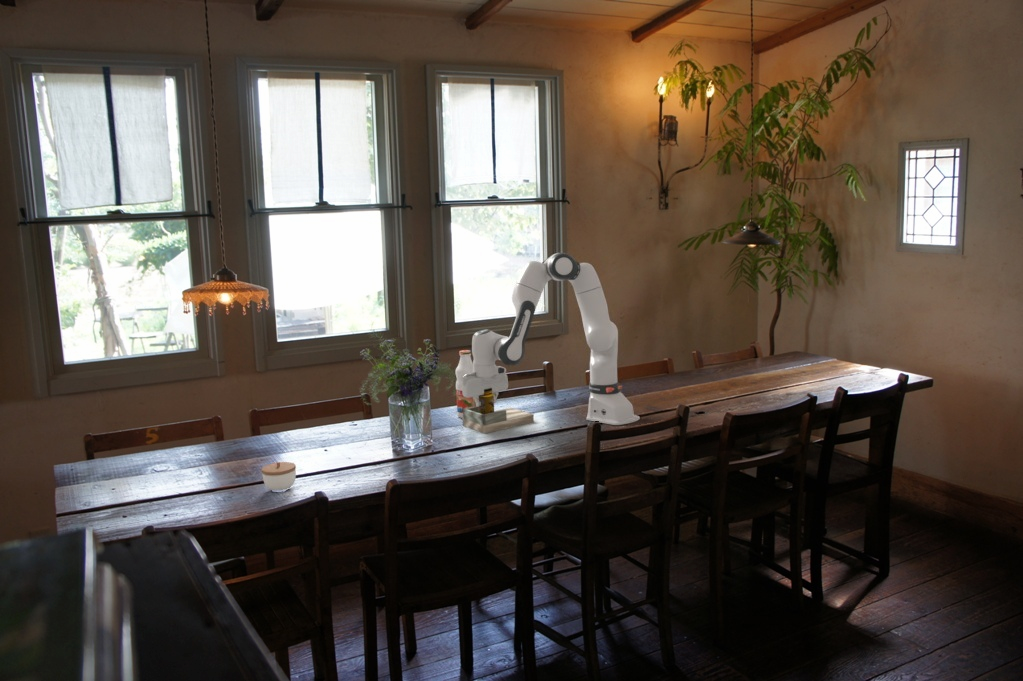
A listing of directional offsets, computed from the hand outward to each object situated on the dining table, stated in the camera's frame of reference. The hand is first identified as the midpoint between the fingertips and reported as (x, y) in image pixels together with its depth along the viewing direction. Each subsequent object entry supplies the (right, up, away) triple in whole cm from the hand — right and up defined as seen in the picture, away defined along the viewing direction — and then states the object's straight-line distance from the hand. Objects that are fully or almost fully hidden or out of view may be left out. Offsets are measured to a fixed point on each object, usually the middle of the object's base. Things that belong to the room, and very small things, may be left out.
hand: (486, 404), depth 341 cm
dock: (+5, -8, +5) cm, 10 cm away
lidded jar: (-65, -23, -63) cm, 94 cm away
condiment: (-1, -5, 0) cm, 5 cm away
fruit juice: (-8, -7, +19) cm, 21 cm away
